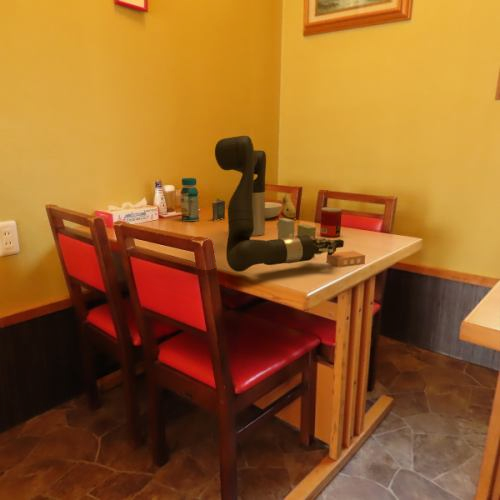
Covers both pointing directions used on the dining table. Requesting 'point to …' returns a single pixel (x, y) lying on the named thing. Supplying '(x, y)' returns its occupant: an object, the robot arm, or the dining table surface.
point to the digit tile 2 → (306, 231)
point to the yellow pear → (288, 209)
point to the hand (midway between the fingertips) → (342, 243)
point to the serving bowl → (272, 209)
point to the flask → (218, 209)
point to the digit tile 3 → (346, 258)
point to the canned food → (330, 222)
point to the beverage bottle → (189, 200)
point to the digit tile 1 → (285, 228)
